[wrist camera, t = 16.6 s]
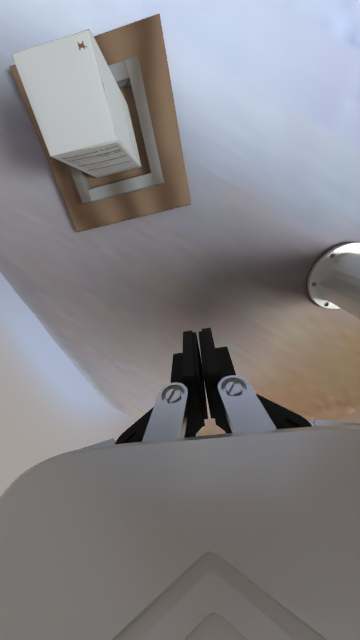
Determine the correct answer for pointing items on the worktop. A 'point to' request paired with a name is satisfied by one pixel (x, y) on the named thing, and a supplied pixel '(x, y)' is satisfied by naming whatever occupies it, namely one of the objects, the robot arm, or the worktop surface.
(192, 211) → the worktop surface
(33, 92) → the supplement box
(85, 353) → the worktop surface
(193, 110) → the worktop surface
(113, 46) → the pocket board
